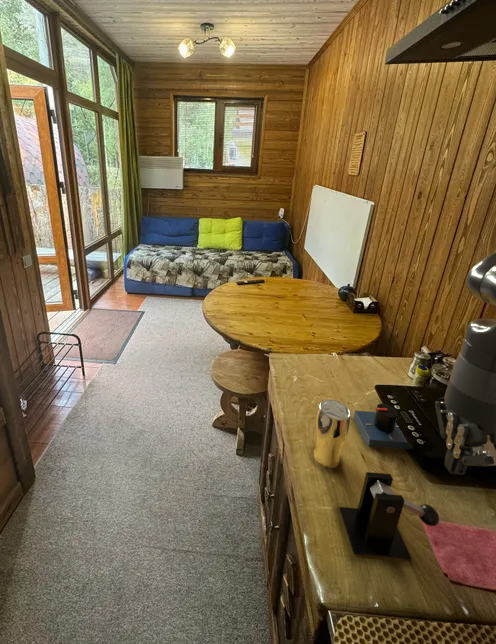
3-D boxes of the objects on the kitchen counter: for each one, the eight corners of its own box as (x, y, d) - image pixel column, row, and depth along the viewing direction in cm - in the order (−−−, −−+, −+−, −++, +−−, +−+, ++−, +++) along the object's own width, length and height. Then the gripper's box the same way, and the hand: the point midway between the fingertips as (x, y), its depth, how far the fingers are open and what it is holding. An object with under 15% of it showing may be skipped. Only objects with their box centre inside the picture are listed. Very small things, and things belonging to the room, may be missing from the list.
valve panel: (393, 421, 86) (395, 412, 85) (413, 452, 77) (416, 442, 76) (353, 419, 87) (354, 409, 86) (367, 449, 77) (370, 439, 76)
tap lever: (424, 514, 58) (436, 504, 57) (435, 533, 55) (447, 522, 54) (366, 486, 57) (377, 476, 56) (374, 504, 54) (385, 493, 53)
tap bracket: (388, 515, 62) (401, 467, 58) (410, 562, 55) (427, 511, 51) (338, 510, 63) (347, 463, 59) (352, 557, 55) (364, 506, 51)
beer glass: (304, 452, 76) (312, 403, 71) (326, 443, 79) (335, 395, 74) (325, 477, 70) (334, 424, 65) (348, 466, 73) (358, 415, 68)
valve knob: (388, 419, 83) (392, 403, 81) (397, 433, 78) (402, 416, 77) (370, 418, 83) (373, 402, 82) (378, 432, 79) (382, 415, 77)
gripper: (548, 420, 41) (509, 512, 46) (474, 362, 53) (450, 439, 59) (489, 416, 41) (456, 508, 47) (429, 360, 54) (409, 437, 59)
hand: (453, 469), depth 53 cm, fingers closed
